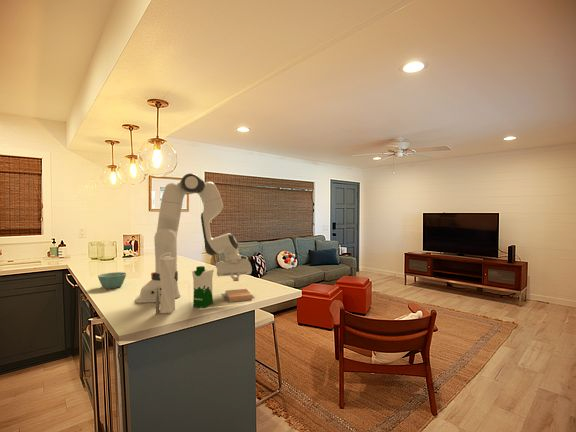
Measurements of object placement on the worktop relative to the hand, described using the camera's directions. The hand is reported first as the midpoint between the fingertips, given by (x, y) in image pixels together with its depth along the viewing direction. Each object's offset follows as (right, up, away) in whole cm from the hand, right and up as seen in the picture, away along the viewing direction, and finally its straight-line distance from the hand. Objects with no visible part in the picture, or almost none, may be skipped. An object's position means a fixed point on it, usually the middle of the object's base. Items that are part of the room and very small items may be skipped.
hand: (236, 280), depth 170 cm
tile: (0, -6, +1) cm, 7 cm away
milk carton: (-13, -9, -19) cm, 25 cm away
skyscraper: (-28, -9, -27) cm, 40 cm away
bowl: (-82, -9, +20) cm, 85 cm away
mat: (+1, -8, -4) cm, 9 cm away
